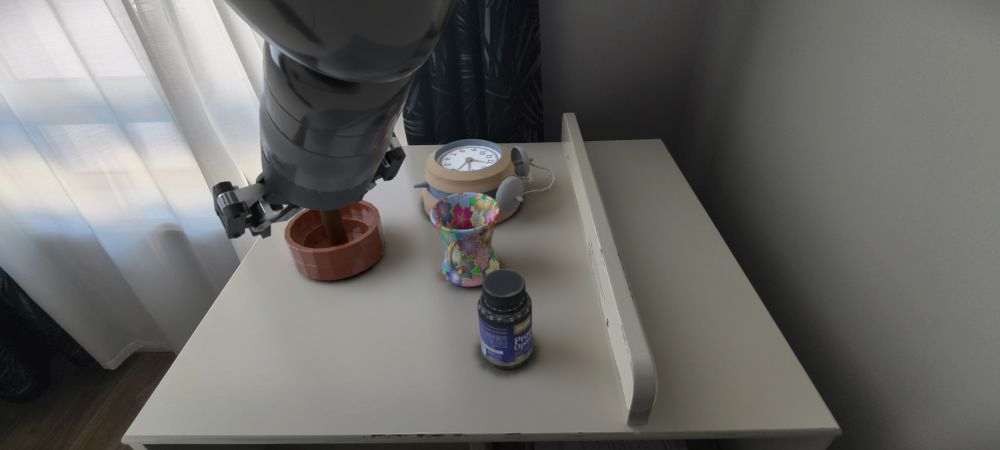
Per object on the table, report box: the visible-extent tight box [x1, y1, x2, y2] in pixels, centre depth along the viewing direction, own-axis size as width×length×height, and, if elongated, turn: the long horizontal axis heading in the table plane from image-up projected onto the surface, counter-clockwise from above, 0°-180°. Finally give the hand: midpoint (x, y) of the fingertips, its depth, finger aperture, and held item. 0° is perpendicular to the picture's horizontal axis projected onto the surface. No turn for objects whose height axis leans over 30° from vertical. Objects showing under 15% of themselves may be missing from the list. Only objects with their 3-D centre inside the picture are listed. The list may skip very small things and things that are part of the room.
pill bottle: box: [477, 268, 533, 370], centre depth 56 cm, size 6×6×11 cm
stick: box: [319, 208, 349, 247], centre depth 72 cm, size 3×3×12 cm
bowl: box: [283, 199, 387, 281], centre depth 74 cm, size 14×14×6 cm
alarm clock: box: [413, 138, 556, 225], centre depth 83 cm, size 17×9×23 cm
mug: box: [429, 192, 501, 288], centre depth 67 cm, size 12×9×11 cm
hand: (308, 209), depth 45 cm, fingers open, 8 cm apart
